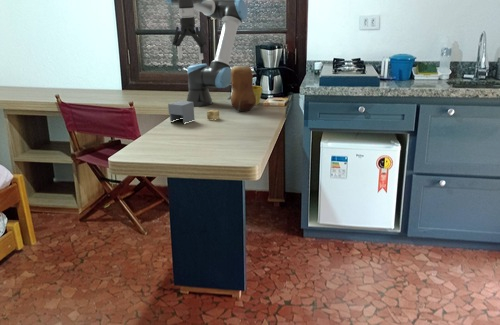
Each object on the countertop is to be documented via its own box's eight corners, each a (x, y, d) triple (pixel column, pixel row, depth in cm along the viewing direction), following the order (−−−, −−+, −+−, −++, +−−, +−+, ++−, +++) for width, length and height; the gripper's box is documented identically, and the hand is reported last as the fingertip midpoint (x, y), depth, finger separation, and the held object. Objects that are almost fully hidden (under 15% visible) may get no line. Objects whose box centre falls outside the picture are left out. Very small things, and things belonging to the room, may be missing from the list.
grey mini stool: (169, 123, 247) (168, 103, 244) (180, 119, 254) (179, 100, 251) (183, 125, 242) (182, 105, 239) (194, 121, 250) (193, 102, 246)
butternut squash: (243, 106, 278) (242, 62, 270) (260, 110, 269) (259, 64, 261) (225, 111, 269) (223, 65, 261) (242, 114, 260) (241, 67, 252)
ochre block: (207, 119, 252) (206, 111, 250) (212, 118, 255) (211, 109, 254) (214, 120, 250) (214, 112, 248) (219, 118, 253) (219, 110, 252)
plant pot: (260, 105, 280) (260, 88, 276) (243, 105, 282) (242, 88, 278) (263, 102, 289) (263, 85, 286) (246, 101, 291) (246, 85, 288)
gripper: (163, 17, 249) (167, 59, 256) (202, 17, 237) (206, 61, 244) (172, 16, 255) (176, 57, 262) (211, 16, 243) (214, 59, 250)
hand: (190, 59), depth 253 cm, fingers open, 13 cm apart
